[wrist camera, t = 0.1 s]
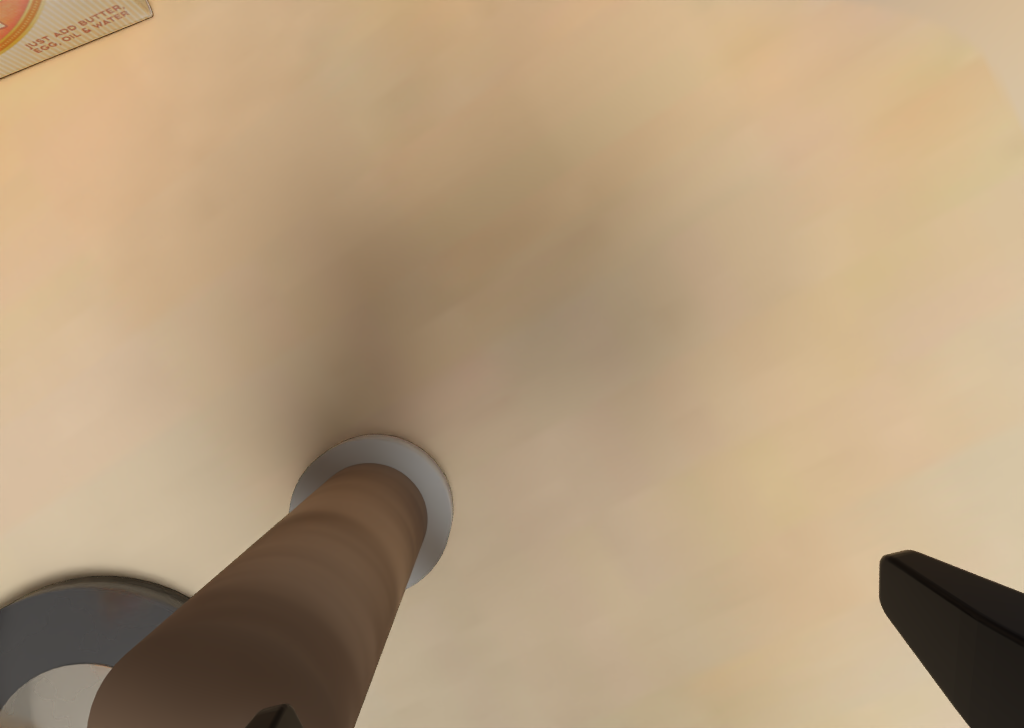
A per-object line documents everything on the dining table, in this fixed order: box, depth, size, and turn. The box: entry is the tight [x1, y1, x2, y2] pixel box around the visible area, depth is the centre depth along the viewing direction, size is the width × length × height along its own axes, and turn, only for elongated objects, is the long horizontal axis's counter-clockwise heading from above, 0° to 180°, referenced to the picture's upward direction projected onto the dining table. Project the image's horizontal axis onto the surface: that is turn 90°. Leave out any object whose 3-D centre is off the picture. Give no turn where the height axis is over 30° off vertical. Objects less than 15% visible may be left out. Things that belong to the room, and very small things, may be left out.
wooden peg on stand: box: [87, 434, 453, 728], centre depth 16 cm, size 7×7×13 cm
